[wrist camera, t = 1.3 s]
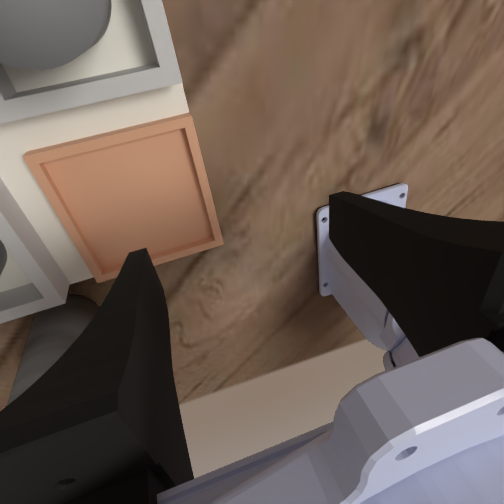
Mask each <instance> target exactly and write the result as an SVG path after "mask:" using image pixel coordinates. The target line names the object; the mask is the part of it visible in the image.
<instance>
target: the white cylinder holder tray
mask: <svg viewBox="0 0 504 504" xmlns="http://www.w3.org/2000/svg"><path fill="white" fill-rule="evenodd" d="M182 83H183V82H182V78H181V74H180V70H179V66H178V62H177V58H176V54H175V50H174V47H173V43H172V39H171V35H170V31H169V27H168V23H167V19H166V15H165V11H164V7H163V3H162V0H0V324H1V323H4V322H7V321H10V320H14V319H17V318H20V317H23V316H26V315H30V314H33V313H36V312H39V311H42V310H46V309H49V308H52V307H55V306H58V305H62V304H65V303H66V298H67V293H68V289H69V285H70V284H73V283H77V282H80V281H83V280H87V279H90V278H93V277H94V278H95V280H96V282H97V283H101V282H104V281H107V280H110V279H114V278H117V276H118V274H119V272H120V270H121V268H122V266H123V264H124V261H125V259H126V257H127V255H128V254H129V252H133V251H136V250H140V249H143V248H147V251H148V253H149V256H150V258H151V260H152V263H153V265H154V266H156V265H159V264H162V263H165V262H169V261H172V260H175V259H178V258H182V257H185V256H188V255H191V254H195V253H198V252H201V251H204V250H207V249H211V248H214V247H217V246H220V245H224V242H223V238H222V234H221V230H220V226H219V222H218V218H217V215H216V211H215V207H214V203H213V199H212V195H211V191H210V187H209V183H208V179H207V175H206V171H205V167H204V163H203V159H202V155H201V151H200V147H199V143H198V139H197V135H196V131H195V127H194V123H193V119H192V115H191V114H190V113H189V109H188V105H187V101H186V98H185V94H184V90H183V86H182Z"/></svg>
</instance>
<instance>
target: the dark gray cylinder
mask: <svg viewBox="0 0 504 504" xmlns="http://www.w3.org/2000/svg"><path fill="white" fill-rule="evenodd" d="M99 308H100V307H99V306H98V305H97V304H96V303H95V302H94V301H92V300H91V299H89V298H86V297H84V296H80V295H73V294H67V298H66V303H65V304H62V305H58V306H55V307H52V308H49V309H46V310H42V311H39V312H36V313H35V316H34V319H33V322H32V325H31V328H30V332H29V335H28V338H27V341H26V345H25V348H24V351H23V354H22V358H21V361H20V364H19V367H18V371H17V374H16V377H15V380H14V384H13V387H12V390H11V393H10V397H9V400H8V405H9V404H10V403H11V402H12V401H14V400H15V399H16V398H17V397H18V396H20V395H21V394H22V393H23V392H24V391H26V390H27V389H28V388H29V387H30V386H31V385H32V384H33V383H35V382H36V381H37V380H38V379H39V378H40V377H41V376H42V375H43V374H44V373H45V372H46V371H47V370H48V369H49V368H50V367H51V366H52V365H53V364H54V363H55V362H56V361H57V360H58V359H59V358H60V357H61V356H62V355H63V354H64V353H65V351H66V350H67V349H68V348H69V347H70V346H71V345H72V344H73V342H74V341H75V340H76V339H77V338H78V337H79V336H80V334H81V333H82V332H83V331H84V329H85V328H86V327H87V325H88V324H89V323H90V321H91V320H92V319H93V317H94V316H95V314H96V313H97V311H98V310H99Z"/></svg>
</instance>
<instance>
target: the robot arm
mask: <svg viewBox="0 0 504 504" xmlns="http://www.w3.org/2000/svg"><path fill="white" fill-rule="evenodd" d="M407 191H408V186H407V185H406V184H404V183H400V184H396V185H393V186H390V187H386V188H383V189H380V190H377V191H373V192H370V193H367V194H364V195H357V194H354V193H349V192H344V191H342V192H339V193H335V194H332V195H329V205H328V206H324V207H321V208H320V209H319V210H318V211H317V214H316V216H317V241H318V267H319V292H320V294H321V295H322V296H328V295H330V294H332V295H333V296H334V298H335V299H336V300H337V302H338V303H339V304H340V305H341V307H342V308H343V309H344V311H345V312H346V313H347V315H348V316H349V317H350V319H351V320H352V321H353V323H354V324H355V325H356V326H357V328H358V329H359V330H360V332H361V333H362V334H363V336H364V337H365V338H366V339H367V340H368V341H369V342H371V343H372V344H374V345H375V346H377V347H379V348H381V349H383V350H386V351H387V352H386V353H385V355H384V356H383V363H384V367H385V370H386V371H384V372H382V373H379V374H376V375H374V376H372V377H370V378H369V379H367V380H365V381H363V382H362V383H360V384H358V385H356V386H355V387H354V388H353V389H352V390H351V391H349V392H348V394H346V395H345V396H344V397H343V398H342V399H341V401H340V403H339V405H338V408H337V410H336V412H335V416H334V422H331V423H329V424H326V425H324V426H321V427H319V428H317V429H314V430H312V431H309V432H307V433H304V434H302V435H300V436H297V437H295V438H292V439H290V440H288V441H285V442H283V443H280V444H278V445H275V446H273V447H271V448H268V449H266V450H263V451H261V452H258V453H256V454H253V455H251V456H249V457H246V458H244V459H242V460H239V461H237V462H234V463H232V464H229V465H227V466H224V467H222V468H219V469H217V470H215V471H212V472H210V473H207V474H205V475H203V476H200V477H198V478H195V479H194V476H193V472H192V467H191V462H190V458H189V453H188V448H187V443H186V439H185V434H184V429H183V424H182V419H181V415H180V409H179V404H178V398H177V393H176V387H175V382H174V377H173V369H172V358H171V344H170V330H169V317H168V309H167V304H166V299H165V295H164V290H163V287H162V285H161V282H160V280H159V278H158V275H157V273H156V270H155V268H154V265H153V263H152V260H151V258H150V256H149V253H148V251H147V248H143V249H140V250H136V251H133V252H129V254H128V255H127V257H126V259H125V261H124V264H123V266H122V268H121V270H120V272H119V274H118V276H117V278H116V280H115V282H114V284H113V286H112V288H111V290H110V291H109V293H108V295H107V297H106V298H105V300H104V302H103V303H102V305H101V307H100V308H99V310H98V311H97V313H96V314H95V316H94V317H93V319H92V320H91V321H90V323H89V324H88V325H87V327H86V328H85V329H84V331H83V332H82V333H81V334H80V336H79V337H78V338H77V339H76V340H75V341H74V342H73V344H72V345H71V346H70V347H69V348H68V349H67V350H66V351H65V353H64V354H63V355H62V356H61V357H60V358H59V359H58V360H57V361H56V362H55V363H54V364H53V365H52V366H51V367H50V368H49V369H48V370H47V371H46V372H45V373H44V374H43V375H42V376H41V377H40V378H39V379H38V380H37V381H36V382H35V383H33V384H32V385H31V386H30V387H29V388H28V389H27V390H26V391H24V392H23V393H22V394H21V395H20V396H18V397H17V398H16V399H15V400H14V401H12V402H11V403H10V404H9V405H8V406H7V407H5V408H4V409H3V410H2V411H1V412H0V504H504V222H497V221H481V220H471V219H461V218H453V217H446V216H441V215H435V214H429V213H424V212H419V211H415V210H411V209H407V208H405V205H406V198H407ZM400 194H401V195H400ZM324 217H325V219H324V220H322V219H323V218H324ZM324 283H325V284H324Z"/></svg>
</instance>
